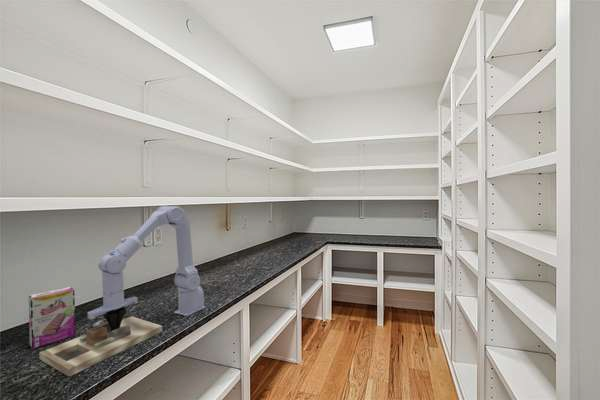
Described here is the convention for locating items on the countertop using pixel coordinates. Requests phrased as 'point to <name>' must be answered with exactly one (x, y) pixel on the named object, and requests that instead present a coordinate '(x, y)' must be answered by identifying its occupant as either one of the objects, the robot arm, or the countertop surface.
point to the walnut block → (96, 335)
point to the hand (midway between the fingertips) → (115, 331)
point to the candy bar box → (51, 316)
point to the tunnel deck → (98, 346)
